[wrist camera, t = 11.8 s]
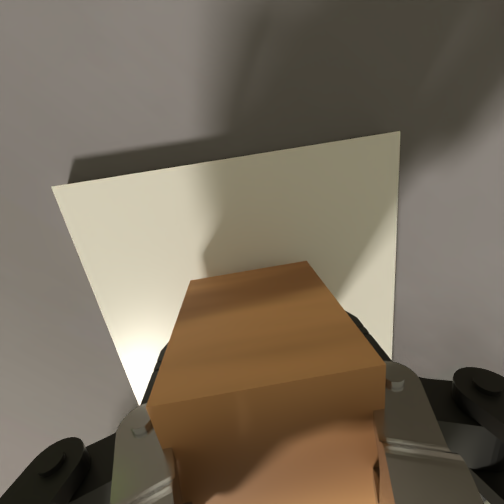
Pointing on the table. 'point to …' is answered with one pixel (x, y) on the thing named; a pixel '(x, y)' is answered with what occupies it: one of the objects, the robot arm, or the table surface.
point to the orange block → (269, 392)
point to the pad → (237, 235)
